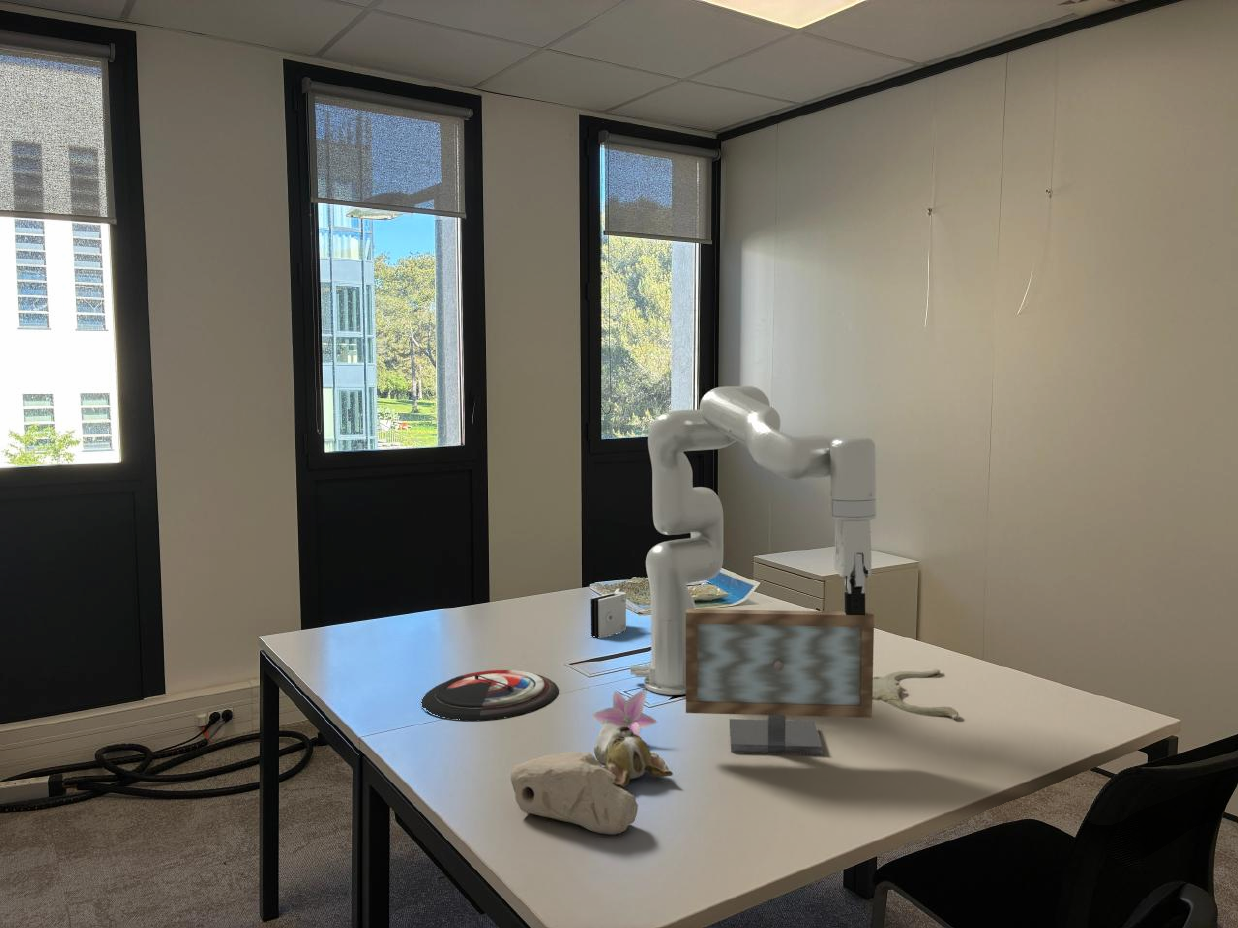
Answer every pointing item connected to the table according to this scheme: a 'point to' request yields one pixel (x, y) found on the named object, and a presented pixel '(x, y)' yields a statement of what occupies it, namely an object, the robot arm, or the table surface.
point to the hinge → (608, 614)
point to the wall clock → (490, 695)
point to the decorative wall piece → (890, 689)
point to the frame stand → (775, 736)
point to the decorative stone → (573, 792)
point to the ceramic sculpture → (626, 754)
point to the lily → (626, 712)
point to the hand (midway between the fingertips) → (855, 615)
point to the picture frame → (779, 663)
